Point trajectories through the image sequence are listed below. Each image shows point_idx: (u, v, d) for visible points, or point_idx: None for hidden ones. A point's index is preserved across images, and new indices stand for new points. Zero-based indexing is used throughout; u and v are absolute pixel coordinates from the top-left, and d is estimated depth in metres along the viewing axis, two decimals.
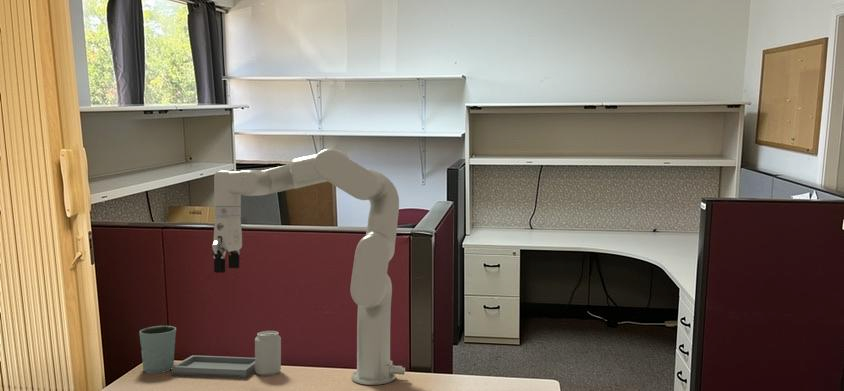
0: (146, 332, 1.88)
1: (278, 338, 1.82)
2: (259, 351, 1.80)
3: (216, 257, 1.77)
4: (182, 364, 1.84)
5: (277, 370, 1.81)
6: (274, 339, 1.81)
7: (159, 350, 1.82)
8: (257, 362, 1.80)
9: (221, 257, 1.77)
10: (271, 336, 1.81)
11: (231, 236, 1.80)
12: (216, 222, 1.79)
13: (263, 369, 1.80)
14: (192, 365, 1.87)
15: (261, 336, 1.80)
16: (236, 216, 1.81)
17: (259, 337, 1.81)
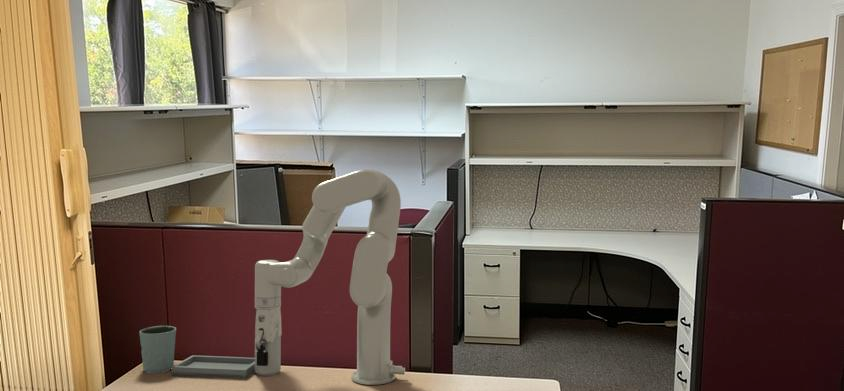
0: (146, 332, 1.88)
1: (278, 338, 1.82)
2: None
3: (259, 351, 1.78)
4: (182, 364, 1.84)
5: (277, 370, 1.81)
6: (274, 339, 1.81)
7: (159, 350, 1.82)
8: None
9: (264, 351, 1.78)
10: None
11: (272, 328, 1.79)
12: (257, 314, 1.79)
13: (263, 369, 1.80)
14: (192, 365, 1.87)
15: None
16: (277, 307, 1.81)
17: None
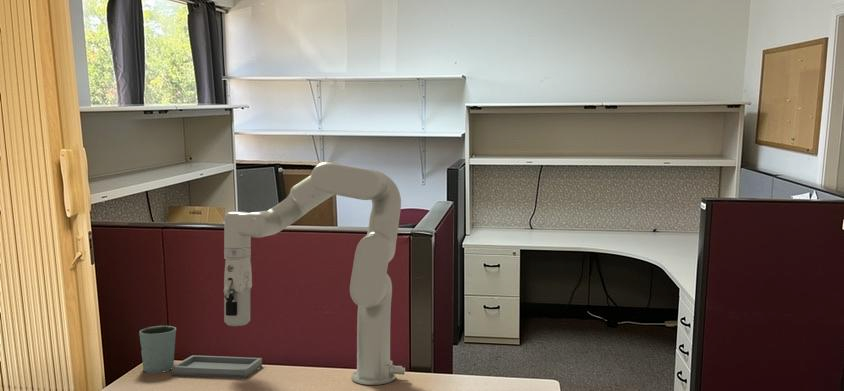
0: (146, 332, 1.88)
1: (247, 289, 1.83)
2: None
3: (228, 300, 1.79)
4: (182, 364, 1.84)
5: (246, 320, 1.82)
6: None
7: (159, 350, 1.82)
8: None
9: (233, 301, 1.79)
10: None
11: (241, 278, 1.80)
12: (226, 264, 1.80)
13: (232, 319, 1.80)
14: (192, 365, 1.87)
15: None
16: (246, 257, 1.82)
17: None
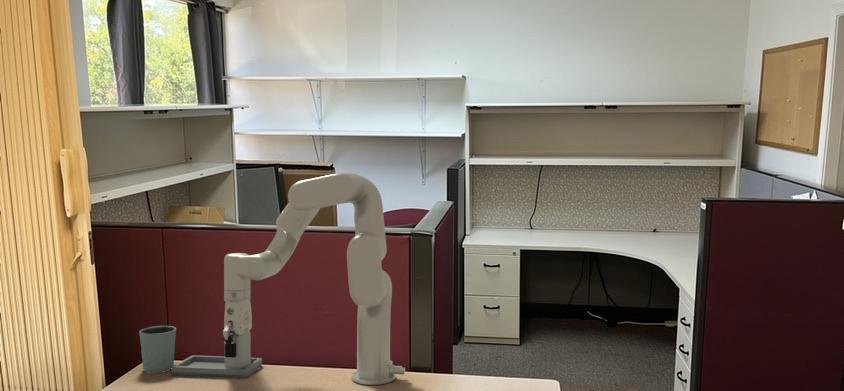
0: (146, 332, 1.88)
1: (247, 333, 1.83)
2: None
3: (227, 342, 1.78)
4: (182, 364, 1.84)
5: (247, 365, 1.83)
6: (243, 334, 1.82)
7: (159, 350, 1.82)
8: (226, 357, 1.81)
9: (232, 342, 1.78)
10: None
11: (241, 320, 1.80)
12: (226, 306, 1.80)
13: (232, 364, 1.81)
14: (192, 365, 1.87)
15: None
16: (246, 299, 1.82)
17: None
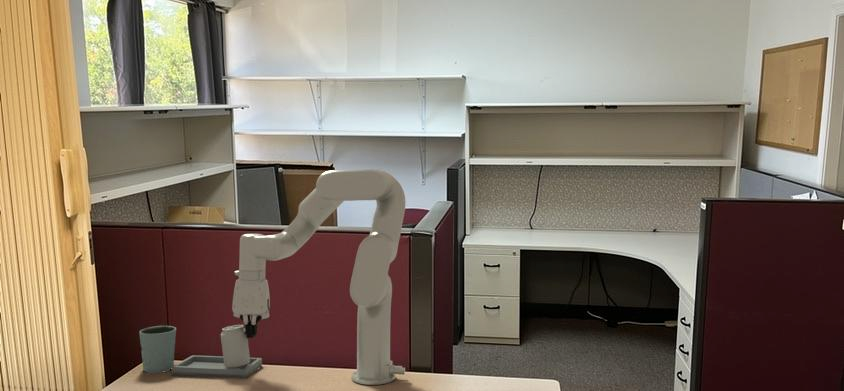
0: (146, 332, 1.88)
1: (243, 331, 1.83)
2: (225, 345, 1.81)
3: None
4: (182, 364, 1.84)
5: (246, 362, 1.83)
6: (239, 332, 1.82)
7: (159, 350, 1.82)
8: (225, 357, 1.81)
9: None
10: (236, 329, 1.82)
11: (237, 299, 1.81)
12: None
13: (231, 362, 1.81)
14: (192, 365, 1.87)
15: (226, 330, 1.82)
16: (242, 280, 1.80)
17: (224, 332, 1.82)
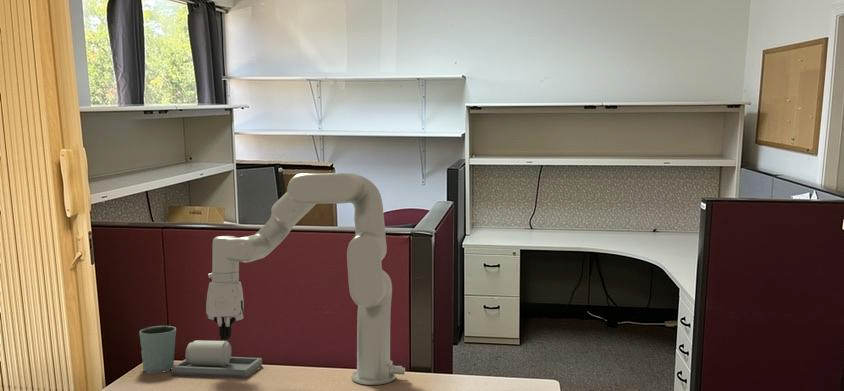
0: (146, 332, 1.88)
1: None
2: (199, 354, 1.83)
3: None
4: (182, 364, 1.84)
5: (224, 341, 1.87)
6: None
7: (159, 350, 1.82)
8: (210, 357, 1.83)
9: None
10: (189, 344, 1.86)
11: (210, 301, 1.82)
12: None
13: (216, 350, 1.83)
14: None
15: (186, 353, 1.84)
16: (215, 282, 1.81)
17: (187, 356, 1.84)
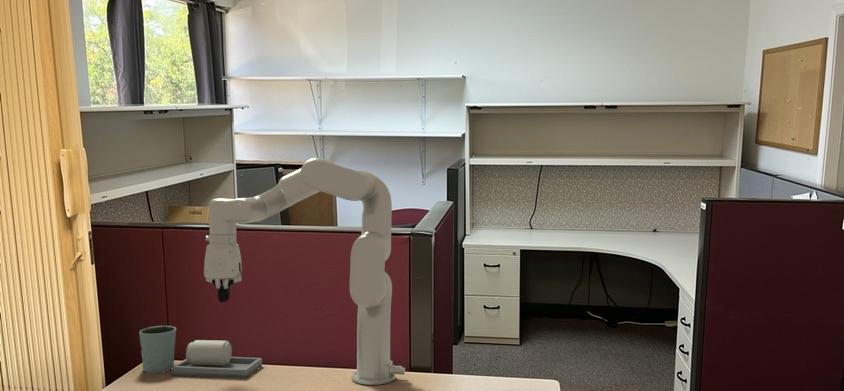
0: (146, 332, 1.88)
1: None
2: (199, 353, 1.84)
3: None
4: (182, 364, 1.84)
5: None
6: None
7: (159, 350, 1.82)
8: (210, 356, 1.83)
9: None
10: (190, 344, 1.87)
11: (208, 263, 1.82)
12: None
13: (217, 349, 1.84)
14: (192, 365, 1.87)
15: (187, 352, 1.85)
16: (213, 244, 1.81)
17: (188, 355, 1.84)
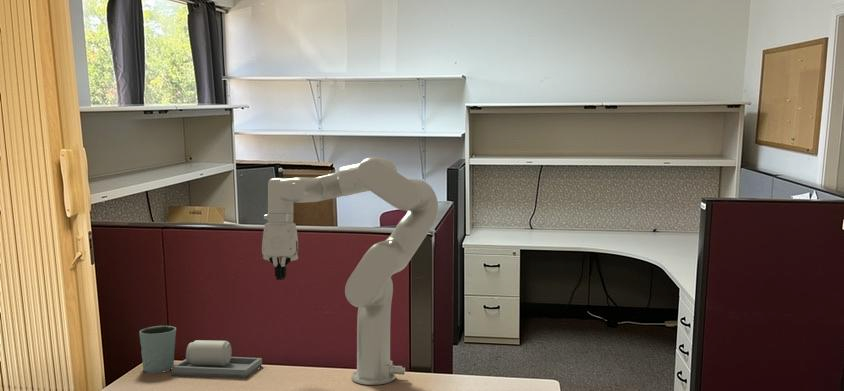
0: (146, 332, 1.88)
1: None
2: (199, 353, 1.84)
3: None
4: (182, 364, 1.84)
5: None
6: None
7: (159, 350, 1.82)
8: (210, 356, 1.83)
9: None
10: (189, 344, 1.86)
11: (266, 241, 1.85)
12: None
13: (217, 349, 1.84)
14: (192, 365, 1.87)
15: (187, 352, 1.85)
16: (272, 222, 1.84)
17: (188, 355, 1.84)
